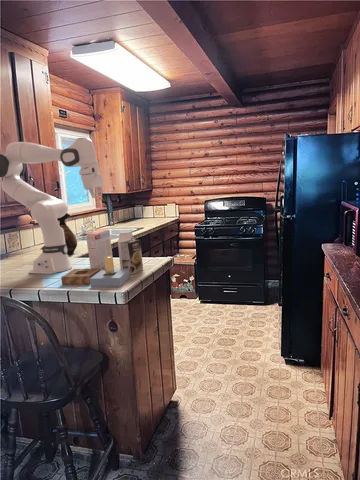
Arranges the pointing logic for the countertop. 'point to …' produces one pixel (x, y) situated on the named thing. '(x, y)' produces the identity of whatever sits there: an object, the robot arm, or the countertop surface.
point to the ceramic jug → (68, 235)
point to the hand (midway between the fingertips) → (97, 196)
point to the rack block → (79, 276)
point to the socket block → (110, 279)
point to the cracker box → (98, 248)
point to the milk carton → (123, 238)
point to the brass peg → (109, 265)
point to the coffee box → (131, 256)
